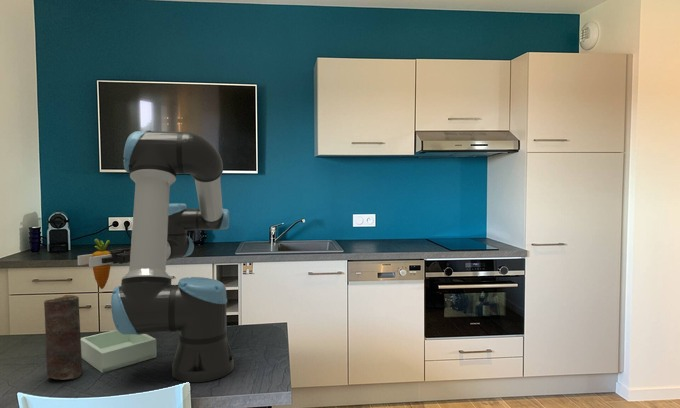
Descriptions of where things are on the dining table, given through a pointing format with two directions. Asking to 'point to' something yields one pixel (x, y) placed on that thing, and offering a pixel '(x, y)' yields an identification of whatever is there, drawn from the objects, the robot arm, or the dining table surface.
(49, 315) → the candle
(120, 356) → the bin
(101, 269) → the carrot
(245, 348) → the dining table surface
